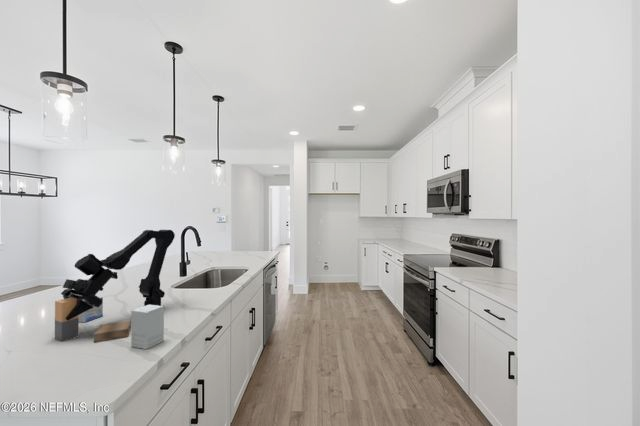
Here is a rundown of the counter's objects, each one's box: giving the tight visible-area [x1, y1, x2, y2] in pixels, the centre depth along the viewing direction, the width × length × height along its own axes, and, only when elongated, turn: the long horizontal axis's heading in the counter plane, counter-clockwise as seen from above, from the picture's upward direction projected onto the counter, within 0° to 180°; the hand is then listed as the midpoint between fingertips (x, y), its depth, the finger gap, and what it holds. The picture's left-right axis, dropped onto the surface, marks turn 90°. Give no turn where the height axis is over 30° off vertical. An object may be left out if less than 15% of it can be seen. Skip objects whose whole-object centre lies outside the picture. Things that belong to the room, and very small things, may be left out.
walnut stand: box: [93, 319, 131, 343], centre depth 107 cm, size 10×10×3 cm
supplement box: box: [130, 304, 165, 350], centre depth 99 cm, size 7×7×13 cm
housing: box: [54, 298, 80, 343], centre depth 104 cm, size 5×5×14 cm
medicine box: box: [78, 296, 104, 323], centre depth 123 cm, size 8×4×9 cm, turn 168°
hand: (62, 318), depth 103 cm, fingers open, 6 cm apart
